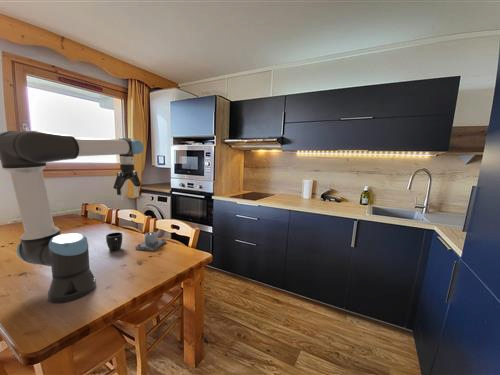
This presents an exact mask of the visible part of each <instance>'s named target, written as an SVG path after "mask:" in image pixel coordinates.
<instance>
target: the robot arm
mask: <svg viewBox="0 0 500 375" xmlns="http://www.w3.org/2000/svg"><path fill="white" fill-rule="evenodd" d="M143 151H144V144H143V142H142V141H141V140H138V139H133V138H132V137H131V138H129V137H118V139H117V138H115V139H114V138H95V137H94V138H92V137H90V138H89V137H86V138H85V137H74V135H71V134H62V133H61V134H60V133H54V132H53V133H52V132H47V131H39V130H8V131H3V132H0V163H1V167H2V169H3V171H6V172H8V173H9V174H10V177H11V180H12V185H13V189H14V193H15V197H16V201H17V206H18V210H19V214H20V219H21V221H22V225H23V226H22V227H23V229H24V232H23V234H21V235H20V241H19V244H18V245H17V248H16V253H17V254H16V255H17V256H18V258H19V259H20V260H22V261H23V262H26V263H29V264H33V265H41V266H44V267H45V266H47V267H50V268H51V276H52V278H51V283H50V286H49V289H48V292H47V299H48V301H49V302H51V303H53V304H54V303H55V304H60V303H68V302H71V301H75V300H77V299H80V298H83V297H84V296H86V295H89V293H91V292H92V291H94V289H96V287H97V282H96V277H95V276H94V274H93V272H92V270H91V268H90V255H89V252H90V251H89V242H88V239H87V236H85V235H84V234H81V233H75V232H73V233H61V228H59V227H58V226H55V224H54V219H53V215H52V214H53V213H52V210H51V204H50V200H49V197H48V191H47V187H46V186H47V185H46V181H45V178H44V173H43V171H44V169H45V168H46V167H47V164H48V163H54V162H60V161H69V160H75V159H77V158H78V157H93V156H97V157H98V156H112V155H114V156H117V155H119V164H120V165H119V169H120V171H121V172H119V171H118V172H117V173H116V178H115V181H114V185H113V189H115V190H116V194H117V200H118V201H124V197H123V194H124V192H123V189H122V188H123V186H124V185H125V182H126V181H127V180H130V181H131V184H133V185H134V186H133V197H138V198H139V196H140V194H139V187H141V185H142V183H141V181H140V178H139V175H138V171H135V157H134V155H141V154H142V153H143Z"/></svg>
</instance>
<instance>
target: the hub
mask: <svg viewBox="0 0 500 375" xmlns="http://www.w3.org/2000/svg"><path fill="white" fill-rule="evenodd" d="M150 233H153V235H150ZM143 236H144V238H143V239H144V241H145V245H154V244H156V243H158V239H159V237H158V232H157V231H150V232H145V233H144V234H143Z"/></svg>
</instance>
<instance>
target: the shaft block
mask: <svg viewBox="0 0 500 375" xmlns="http://www.w3.org/2000/svg"><path fill="white" fill-rule="evenodd" d="M150 235H153V233H150ZM164 243H165V244H166V243H167V239H164V238H158V243H156V244H154V245H145V240H144V241H143V242H141V243H139V244H137V245H135V250H138V251H146V252H147V251H149V252H150V251H151V252H155V251H156V250H157V249H160V247H162V246H163V245H165V244H164Z"/></svg>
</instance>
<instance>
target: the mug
mask: <svg viewBox="0 0 500 375" xmlns="http://www.w3.org/2000/svg"><path fill="white" fill-rule="evenodd" d="M105 240H106V244H107V248H108V250H109V251H110V252H113V253H114V252H117V251H120V250H121V248H122V244H123V233H122V232H119V231H118V232H111V233H108V234H106V235H105Z"/></svg>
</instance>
